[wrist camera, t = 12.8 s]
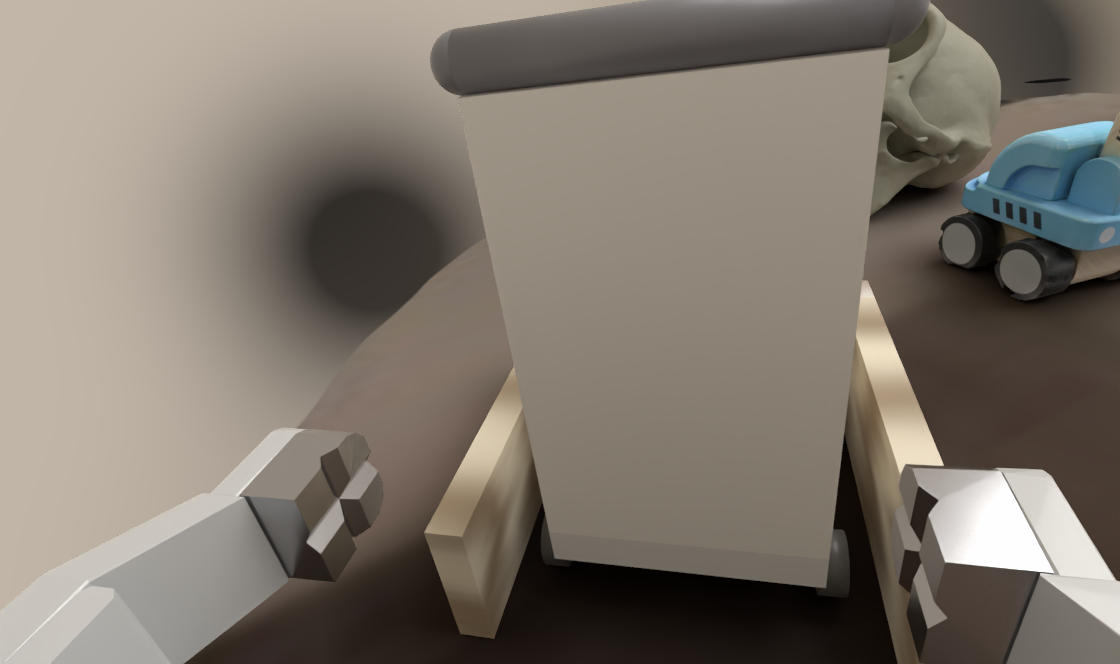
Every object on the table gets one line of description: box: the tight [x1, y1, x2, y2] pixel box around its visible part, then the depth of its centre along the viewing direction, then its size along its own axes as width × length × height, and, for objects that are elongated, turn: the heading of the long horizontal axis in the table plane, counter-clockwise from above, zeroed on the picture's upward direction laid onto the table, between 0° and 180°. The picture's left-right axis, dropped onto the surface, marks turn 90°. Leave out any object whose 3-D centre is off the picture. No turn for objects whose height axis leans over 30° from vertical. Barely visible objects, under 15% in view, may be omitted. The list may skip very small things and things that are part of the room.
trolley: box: [430, 0, 930, 598], centre depth 24 cm, size 14×12×22 cm
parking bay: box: [424, 281, 944, 664], centre depth 29 cm, size 20×18×6 cm
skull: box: [870, 3, 1001, 216], centre depth 58 cm, size 18×21×28 cm
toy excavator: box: [939, 110, 1120, 301], centre depth 37 cm, size 9×17×17 cm, turn 12°
